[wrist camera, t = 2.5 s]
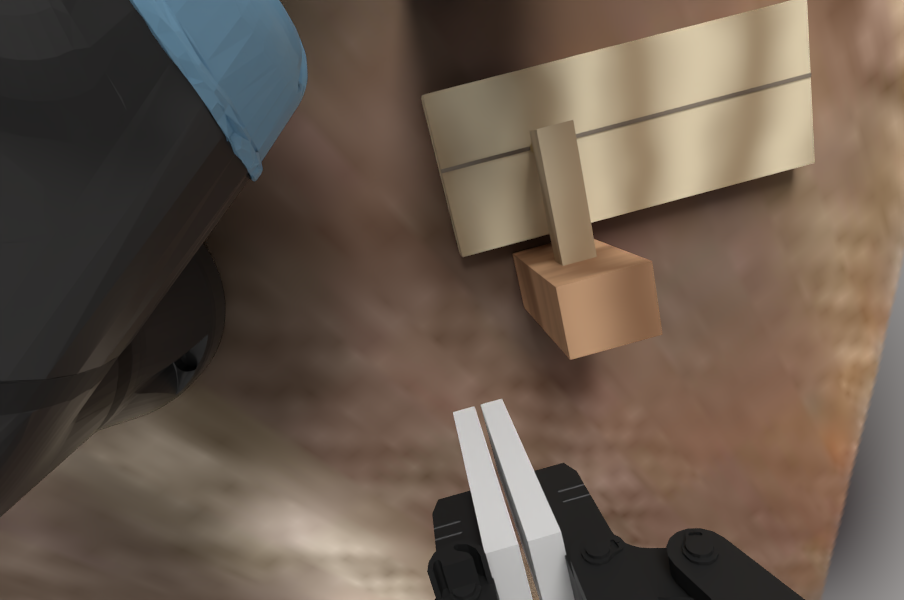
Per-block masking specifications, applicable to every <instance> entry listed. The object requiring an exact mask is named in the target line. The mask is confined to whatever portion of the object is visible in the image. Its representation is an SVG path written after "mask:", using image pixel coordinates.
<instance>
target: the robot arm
mask: <svg viewBox="0 0 904 600" xmlns="http://www.w3.org/2000/svg"><path fill="white" fill-rule="evenodd" d="M307 78H308V70H307V62H306V54H305V50H304V48H303V45H302V42H301V40H300V37H299V35H298V32H297V30H296V28H295V26H294V24H293V22H292V20H291V19H290V17H289V15H288V13H287V12H286V10H285V8H284V7H283V5H282V4H281V2H280V0H0V517H1V516H2V515H3V514H4V513H6V512H7V511H8V510H9V509H10V508H11V507H12V506H13V505H15V504H16V503H17V502H18V501H19V500H20V499H21V498H22V497H23V496H25V495H26V494H27V493H28V492H29V491H30V490H31V489H32V488H34V487H35V486H36V485H37V484H38V483H39V482H40V481H41V480H42V479H44V478H45V477H46V476H47V475H48V474H49V473H50V472H51V471H53V470H54V469H55V468H56V467H57V466H58V465H59V464H60V463H61V462H63V461H64V460H65V459H66V458H67V457H68V456H69V455H70V454H72V453H73V452H74V451H75V450H76V449H77V448H78V447H79V446H80V445H82V444H83V443H84V442H85V441H86V440H87V439H88V438H89V437H91V436H92V435H93V434H94V433H95V432H96V431H98V430H101V429H104V428H107V427H110V426H113V425H116V424H119V423H122V422H125V421H128V420H131V419H134V418H137V417H140V416H143V415H146V414H148V413H151V412H153V411H155V410H157V409H159V408H161V407H162V406H164V405H166V404H167V403H169V402H170V401H172V400H173V399H175V398H176V397H178V396H179V395H180V394H181V393H182V392H184V391H185V390H186V389H187V388H188V387H189V386H190V385H191V384H192V383H193V381H194V380H195V379H196V378H197V377H198V376H199V375H200V374H201V373H202V372H203V371H204V369H205V368H206V367H207V365H208V364H209V363H210V361H211V359H212V358H213V356H214V354H215V352H216V350H217V348H218V345H219V343H220V340H221V337H222V333H223V329H224V322H225V298H224V291H223V286H222V282H221V279H220V276H219V273H218V270H217V268H216V265H215V263H214V261H213V259H212V257H211V255H210V253H209V252H208V250H207V249H206V247H205V245H204V244H203V242H204V241H205V239H206V238H207V237H208V235H209V234H210V233H211V231H212V230H213V228H214V227H215V226H216V224H217V223H218V222H219V220H220V219H221V217H222V216H223V215H224V213H225V212H226V210H227V209H228V208H229V206H230V205H231V204H232V202H233V201H234V199H235V198H236V197H237V195H238V194H239V193H240V191H241V190H242V188H243V187H244V186H245V184H246V183H247V182H248V180H249V179H251V180H252V181H254V182H255V181H256V180H257V179H258V178H259V176H260V175H261V173H262V171H263V168H262V160H263V159H264V157H265V156H266V154H267V153H268V151H269V150H270V148H271V147H272V145H273V144H274V142H275V141H276V139H277V137H278V136H279V134H280V133H281V131H282V130H283V128H284V127H285V125H286V124H287V122H288V121H289V119H290V118H291V116H292V115H293V113H294V112H295V110H296V108H297V107H298V105H299V104H300V102H301V100H302V98H303V95H304V92H305V90H306V85H307ZM481 409H482V412H483V416H484V420H485V424H486V428H487V432H488V435H489V439H490V443H491V447H492V451H493V455H494V459H495V462H496V466H497V470H498V473H499V477H500V480H501V483H502V486H503V489H504V492H505V495H506V498H507V501H508V504H509V507H510V510H511V513H512V516H513V519H514V522H515V525H516V529H517V532H518V535H519V538H520V541H521V544H522V547H523V550H524V553H525V556H526V559H527V562H528V565H529V568H530V571H531V574H532V577H533V581H534V584H535V587H536V590H537V593H538V596H539V599H540V600H805V599H803V598H802V597H801V596H799V595H798V594H797V593H795V592H794V591H793V590H792V589H790V588H789V587H788V586H786V585H785V584H784V583H782V582H781V581H780V580H779V579H777V578H776V577H775V576H773V575H772V574H771V573H769V572H768V571H767V570H766V569H764V568H763V567H762V566H760V565H759V564H758V563H756V562H755V561H754V560H753V559H751V558H750V557H749V556H747V555H746V554H745V553H743V552H742V551H741V550H740V549H738V548H737V547H736V546H734V545H733V544H732V543H730V542H729V541H728V540H727V539H725V538H724V537H722V536H720V535H718V534H717V533H715V532H713V531H709V530H705V529H701V528H695V529H685V530H682V531H679V532H677V533H675V534H674V535H673V536H672V537H671V538H670V539H669V541H668V544H667V546H666V547H667V548H639V547H635V546H632V545H629V544H627V543H625V542H624V541H623V540H622V539H621V538H620V537H618V536H616V535H614V534H613V532H612V531H611V530H610V528H609V526H608V524H607V523H606V521H605V519H604V518H603V516H602V514H601V512H600V511H599V509H598V507H597V506H596V504H595V502H594V500H593V499H592V497H591V495H590V494H589V492H588V490H587V488H586V487H585V485H584V483H583V482H582V480H581V478H580V476H579V475H578V473H577V471H575V470H574V469H572V468H571V467H569V466H568V465H566V464H565V463H561V464H558V465H554V466H551V467H547V468H543V469H540V470H536V471H534V470H533V468H532V465H531V463H530V461H529V459H528V456H527V454H526V452H525V450H524V447H523V445H522V443H521V441H520V438H519V436H518V434H517V432H516V429H515V427H514V425H513V423H512V420H511V418H510V416H509V414H508V411H507V409H506V407H505V405H504V402H503V400H502V399H499V400H495V401H492V402H488V403H484V404H481ZM453 415H454V419H455V424H456V428H457V432H458V437H459V441H460V446H461V450H462V455H463V459H464V464H465V468H466V473H467V477H468V481H469V486H470V490H471V491H467V492H464V493H460V494H457V495H453V496H450V497H446V498H443V499H439V500H438V502H437V504H436V506H435V509H434V511H433V524H434V534H435V544H436V552H435V553H434V554H433V556H432V558H431V559H430V561H429V564H428V571H427V572H428V575H429V578H430V581H431V584H432V587H433V590H434V593H435V596H436V599H435V600H533V599H532V595H531V591H530V587H529V584H528V580H527V576H526V572H525V568H524V564H523V560H522V556H521V553H520V549H519V545H518V542H517V538H516V535H515V532H514V529H513V526H512V523H511V520H510V516H509V513H508V510H507V507H506V504H505V501H504V498H503V494H502V491H501V488H500V485H499V482H498V479H497V476H496V473H495V469H494V466H493V463H492V460H491V457H490V454H489V451H488V447H487V444H486V441H485V438H484V435H483V432H482V429H481V425H480V422H479V419H478V416H477V413H476V410H475V407H470V408H466V409H463V410H459V411H456V412H453Z"/></svg>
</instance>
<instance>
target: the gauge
mask: <svg viewBox="0 0 904 600" xmlns="http://www.w3.org/2000/svg"><path fill="white" fill-rule="evenodd" d="M529 132H530V137H531V142H532V143H531V145H530V149H531V151H532V152H533V153H534V157H535V162H536V167H537V172H538V177H539V182H540V188H541V193H542V198H543V203H544V208H545V213H546V218H547V223H548V228H549V233H550V238H551V243H549V244H545V245H541V246H537V247H534V248H530V249H526V250H523V251H519V252H515V253H512V255H513V259H514V264H515V268H516V273H517V277H518V282H519V286H520V291H521V296H522V300H523V305H524V308H525V309H526V310H527V311H528V313H529V314H530V315H531V316H532V317H533V318H534V319H535V320H536V322H537V323H538V324H539V325H540V326H541V327H542V328H543V330H544V331H545V332H546V333H547V334H548V335H549V336H550V337H551V339H552V340H553V341H554V342H555V343H556V344H557V345H558V347H559V348H560V349H561V350H562V351H563V352H564V353H565V354H566V356H567V357H568V358H569V359H570V360H572V359H576V358H579V357H583V356H586V355H590V354H594V353H597V352H601V351H604V350H608V349H612V348H615V347H619V346H623V345H626V344H630V343H633V342H637V341H641V340H644V339H648V338H651V337H655V336H659V335H662V328H661V321H660V314H659V307H658V300H657V293H656V286H655V279H654V272H653V265H652V261H650V260H648V259H645V258H642V257H640V256H637V255H635V254H632V253H629V252H627V251H624V250H621V249H619V248H616V247H614V246H611V245H608V244H606V243H603V242H601V241H598V240H595V239H594V237H593V231H592V225H591V220H590V214H589V208H588V202H587V197H586V191H585V185H584V179H583V173H582V168H581V162H580V156H579V150H578V144H577V139H576V133H575V127H574V121H573V120H571V121H567V122H563V123H559V124H555V125H551V126H547V127H543V128H540V129H536V130H532V131H529Z"/></svg>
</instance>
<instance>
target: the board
mask: <svg viewBox="0 0 904 600" xmlns="http://www.w3.org/2000/svg"><path fill="white" fill-rule="evenodd" d="M421 101H422V105H423V109H424V113H425V117H426V121H427V125H428V129H429V133H430V137H431V141H432V145H433V149H434V153H435V157H436V161H437V165H438V169H439V173H440V177H441V181H442V185H443V189H444V193H445V197H446V201H447V205H448V209H449V213H450V217H451V221H452V225H453V229H454V233H455V237H456V241H457V245H458V249H459V253H460V254H461V256H462V257H465V256H469V255H473V254H476V253H480V252H484V251H488V250H491V249H495V248H499V247H502V246H506V245H510V244H514V243H517V242H521V241H525V240H529V239H532V238H536V237H540V236H544V235H547V234H550V233H549V228H548V223H547V218H546V213H545V208H544V203H543V198H542V193H541V188H540V182H539V177H538V172H537V167H536V162H535V157H534V153H533V152H532V151H531V149H530V145H531V143H532V142H531V137H530V132H529V131H532V130H536V129H540V128H543V127H547V126H551V125H555V124H559V123H563V122H567V121H571V120H573V121H574V127H575V133H576V139H577V144H578V150H579V156H580V162H581V168H582V173H583V179H584V185H585V191H586V197H587V202H588V208H589V214H590V220H591V223H592V222H596V221H599V220H603V219H607V218H611V217H614V216H618V215H622V214H626V213H629V212H633V211H637V210H641V209H644V208H648V207H652V206H655V205H659V204H663V203H667V202H670V201H674V200H678V199H682V198H685V197H689V196H693V195H697V194H700V193H704V192H708V191H711V190H715V189H719V188H723V187H726V186H730V185H734V184H738V183H741V182H745V181H749V180H753V179H756V178H760V177H764V176H767V175H771V174H775V173H779V172H782V171H786V170H790V169H794V168H797V167H801V166H805V165H808V164H812V163H815V159H814V138H813V117H812V96H811V73H810V54H809V34H808V13H807V0H791V1H787V2H783V3H779V4H775V5H771V6H767V7H764V8H760V9H756V10H752V11H748V12H744V13H740V14H736V15H732V16H728V17H725V18H721V19H717V20H713V21H709V22H705V23H701V24H697V25H693V26H689V27H685V28H682V29H678V30H674V31H670V32H666V33H662V34H658V35H654V36H650V37H646V38H643V39H639V40H635V41H631V42H627V43H623V44H619V45H615V46H611V47H607V48H604V49H600V50H596V51H592V52H588V53H584V54H580V55H576V56H572V57H568V58H564V59H561V60H557V61H553V62H549V63H545V64H541V65H537V66H533V67H529V68H525V69H522V70H518V71H514V72H510V73H506V74H502V75H498V76H494V77H490V78H486V79H482V80H479V81H475V82H471V83H467V84H463V85H459V86H455V87H451V88H447V89H443V90H440V91H436V92H432V93H428V94H424V95H422V97H421Z"/></svg>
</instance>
